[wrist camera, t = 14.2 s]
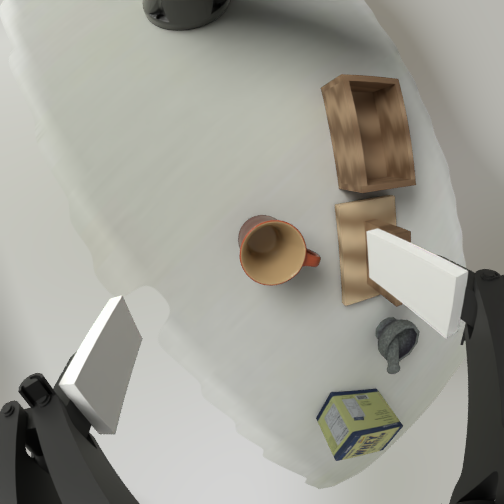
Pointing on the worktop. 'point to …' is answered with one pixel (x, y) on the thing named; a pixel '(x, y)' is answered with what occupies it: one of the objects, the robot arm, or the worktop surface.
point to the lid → (363, 244)
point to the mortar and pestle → (396, 341)
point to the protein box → (357, 423)
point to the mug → (273, 250)
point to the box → (369, 133)
